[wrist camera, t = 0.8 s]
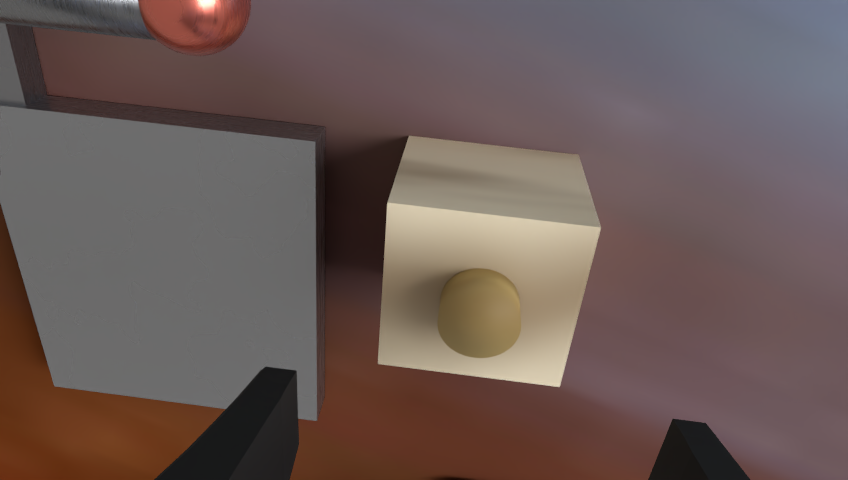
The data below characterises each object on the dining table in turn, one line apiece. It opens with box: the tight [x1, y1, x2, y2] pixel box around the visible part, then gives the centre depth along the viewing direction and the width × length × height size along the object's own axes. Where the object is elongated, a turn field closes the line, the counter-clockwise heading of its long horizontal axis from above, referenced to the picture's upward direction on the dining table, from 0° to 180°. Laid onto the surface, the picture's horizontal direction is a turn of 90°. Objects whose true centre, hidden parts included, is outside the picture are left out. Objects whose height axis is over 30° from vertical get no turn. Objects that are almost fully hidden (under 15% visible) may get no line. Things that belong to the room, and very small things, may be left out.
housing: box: [378, 136, 601, 387], centre depth 17 cm, size 5×5×6 cm
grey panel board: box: [0, 23, 325, 421], centre depth 17 cm, size 19×12×7 cm, turn 175°
